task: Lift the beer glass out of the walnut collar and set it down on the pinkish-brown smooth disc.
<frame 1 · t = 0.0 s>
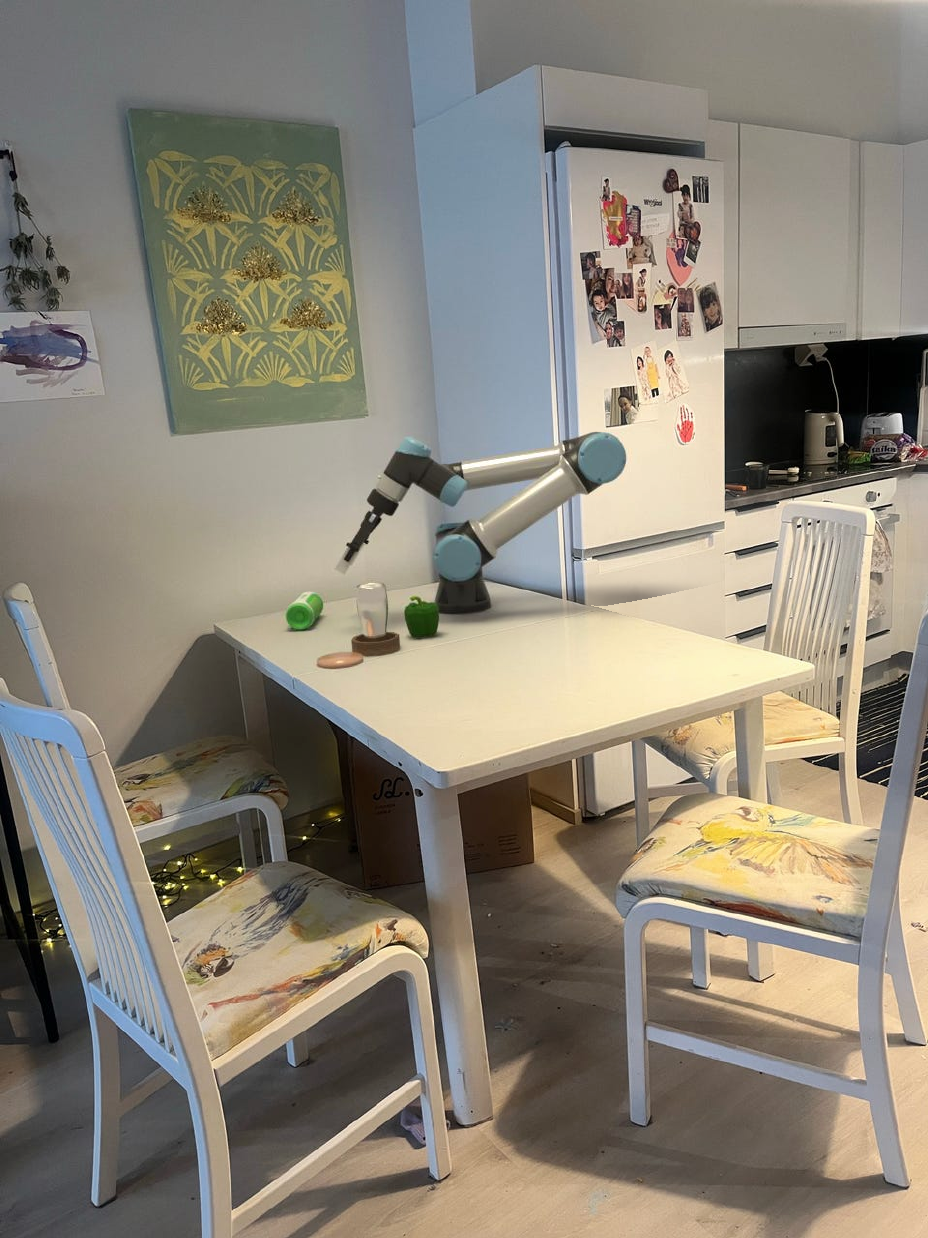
hand: (343, 567, 241), 15 cm above the table, tool tilted 35°, fingers open, 13 cm apart
speaker: (306, 625, 251), on the table
bell pepper: (423, 636, 228), on the table
pinkish-brown smooth disc: (340, 662, 209), on the table
walnut collar: (376, 650, 218), on the table
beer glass: (376, 650, 218), resting in walnut collar
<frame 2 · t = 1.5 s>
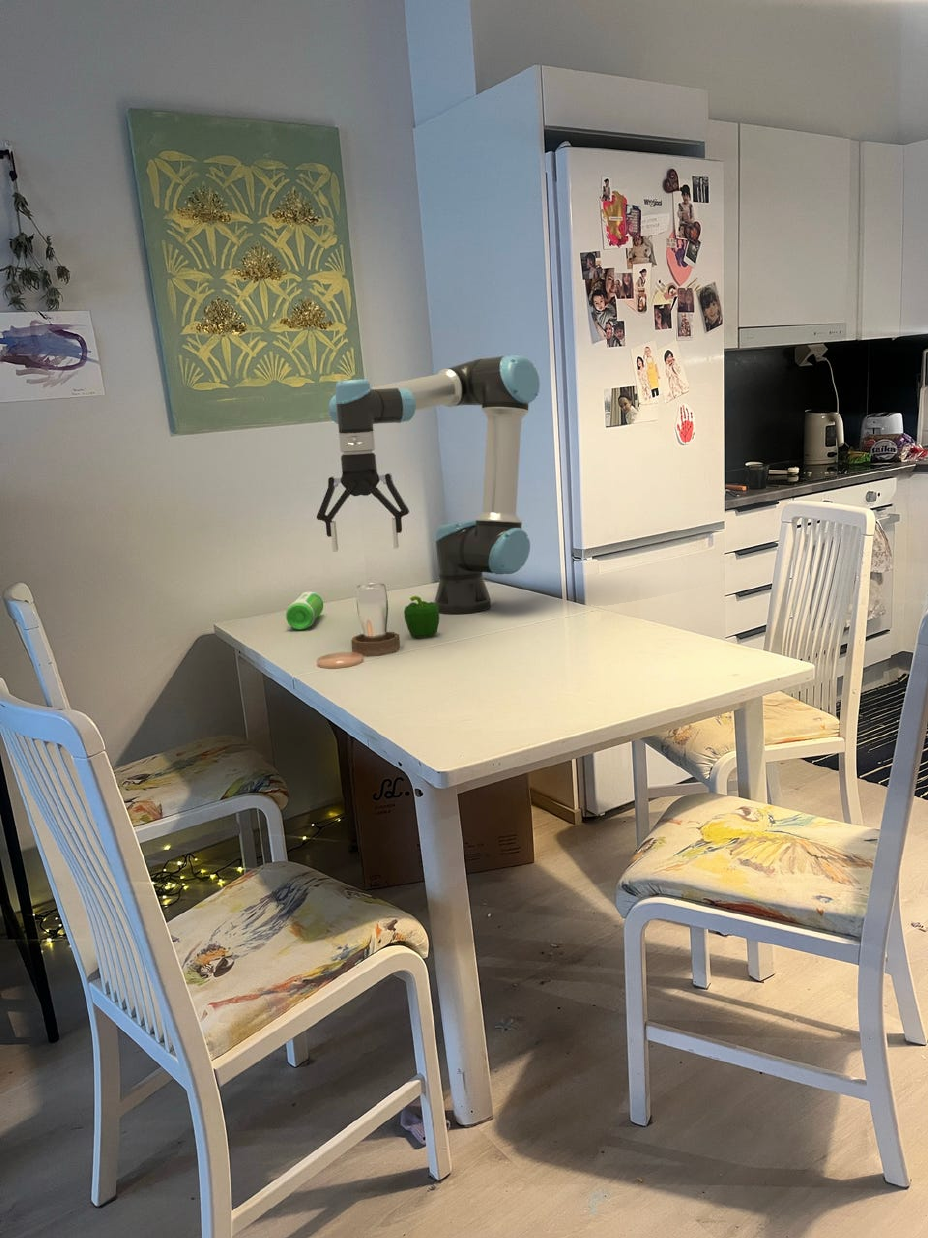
hand: (365, 549, 213), 23 cm above the table, tool pointing down, fingers open, 13 cm apart
nothing on the table moved.
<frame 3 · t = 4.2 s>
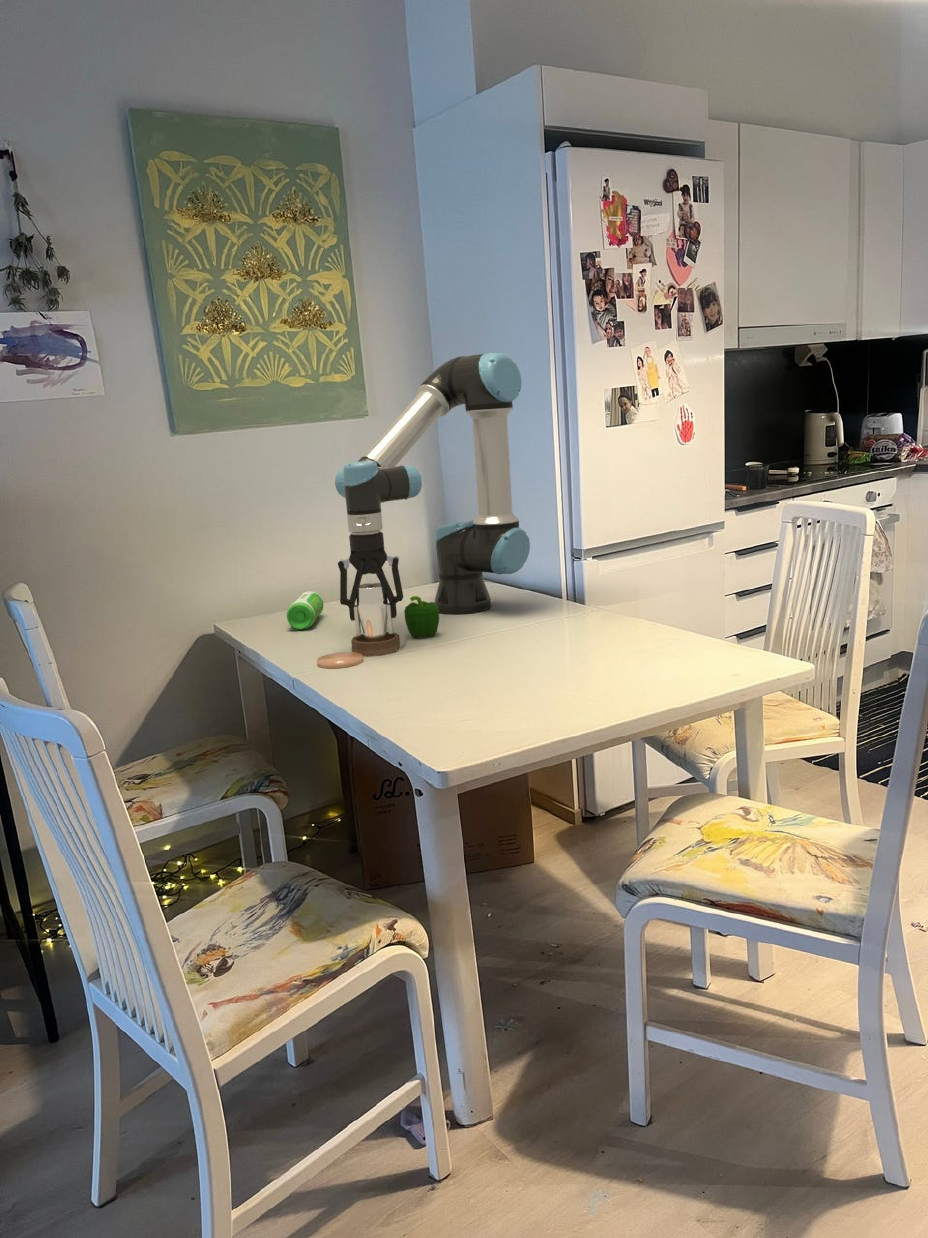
hand: (374, 632, 217), 4 cm above the table, tool pointing down, fingers closed on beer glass, 7 cm apart
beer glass: (376, 650, 218), resting in walnut collar, touching gripper
everything else where it was.
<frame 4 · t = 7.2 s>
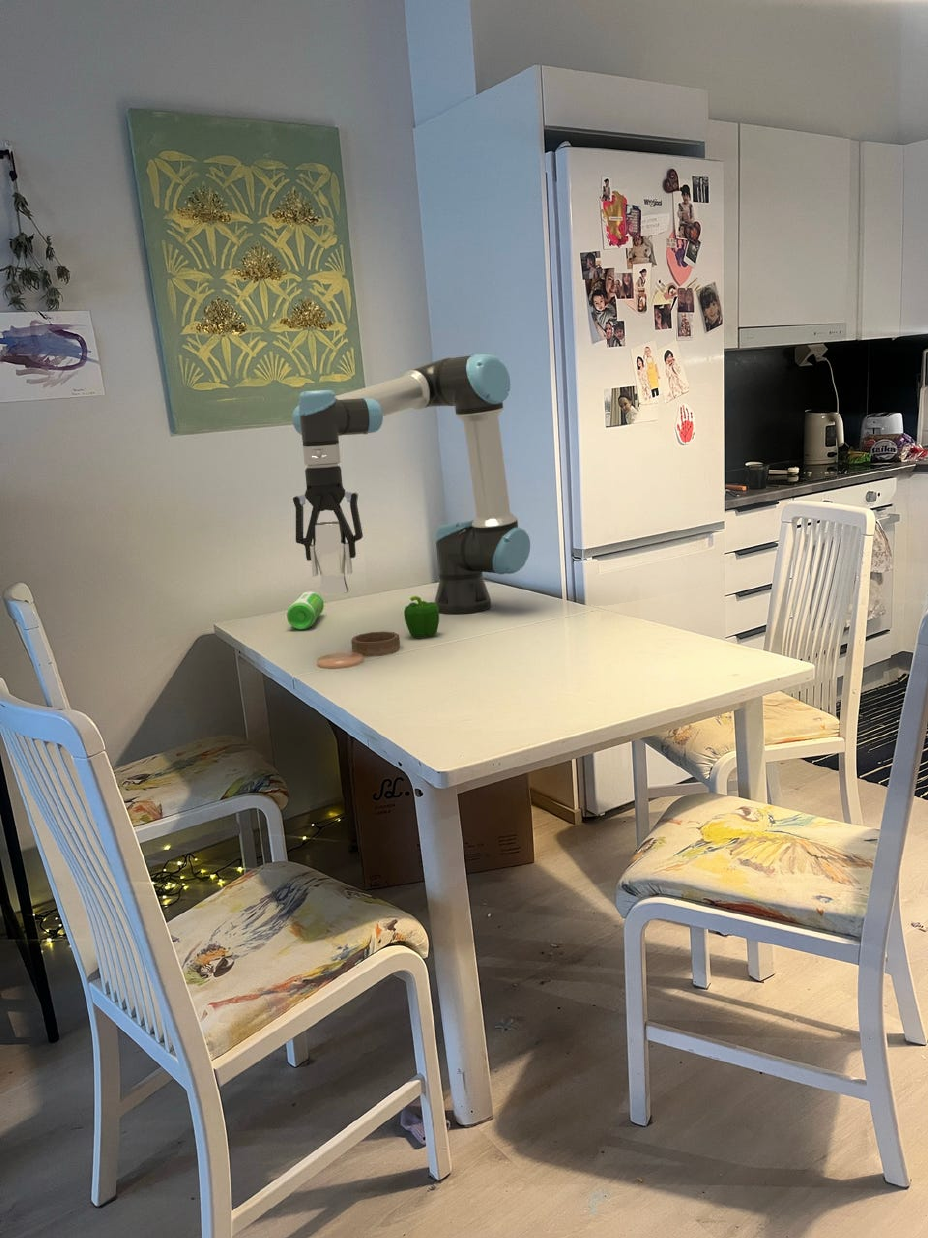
hand: (332, 574, 205), 20 cm above the table, tool pointing down, fingers closed on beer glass, 7 cm apart
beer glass: (334, 593, 206), point 15 cm above the table, touching gripper
everything else where it was.
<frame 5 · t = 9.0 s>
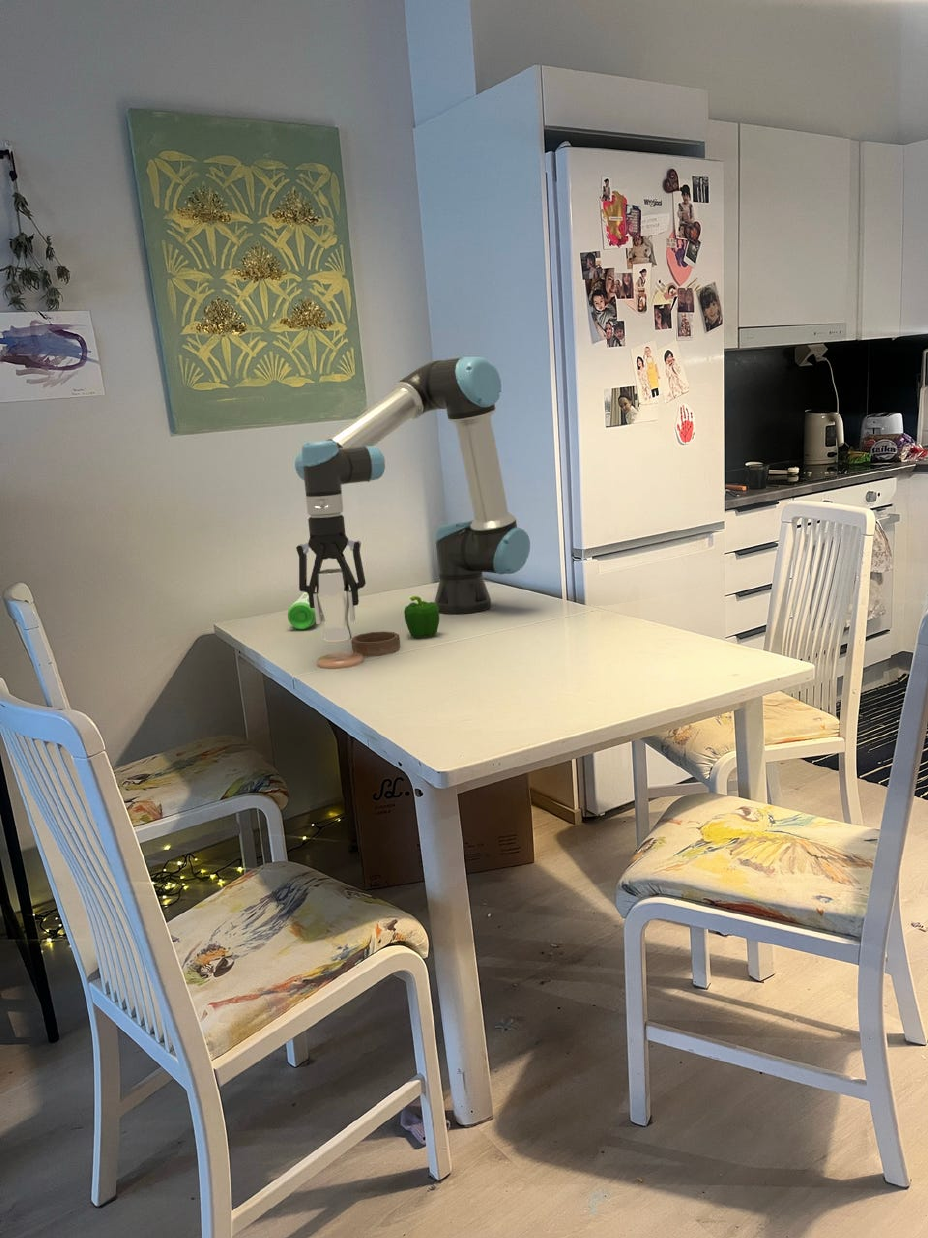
hand: (335, 621, 207), 9 cm above the table, tool pointing down, fingers closed on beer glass, 7 cm apart
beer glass: (337, 639, 208), point 5 cm above the table, touching gripper
everything else where it was.
when the fingers open (6 cm above the table, at t = 10.4 s): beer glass drops 1 cm, resting on pinkish-brown smooth disc.
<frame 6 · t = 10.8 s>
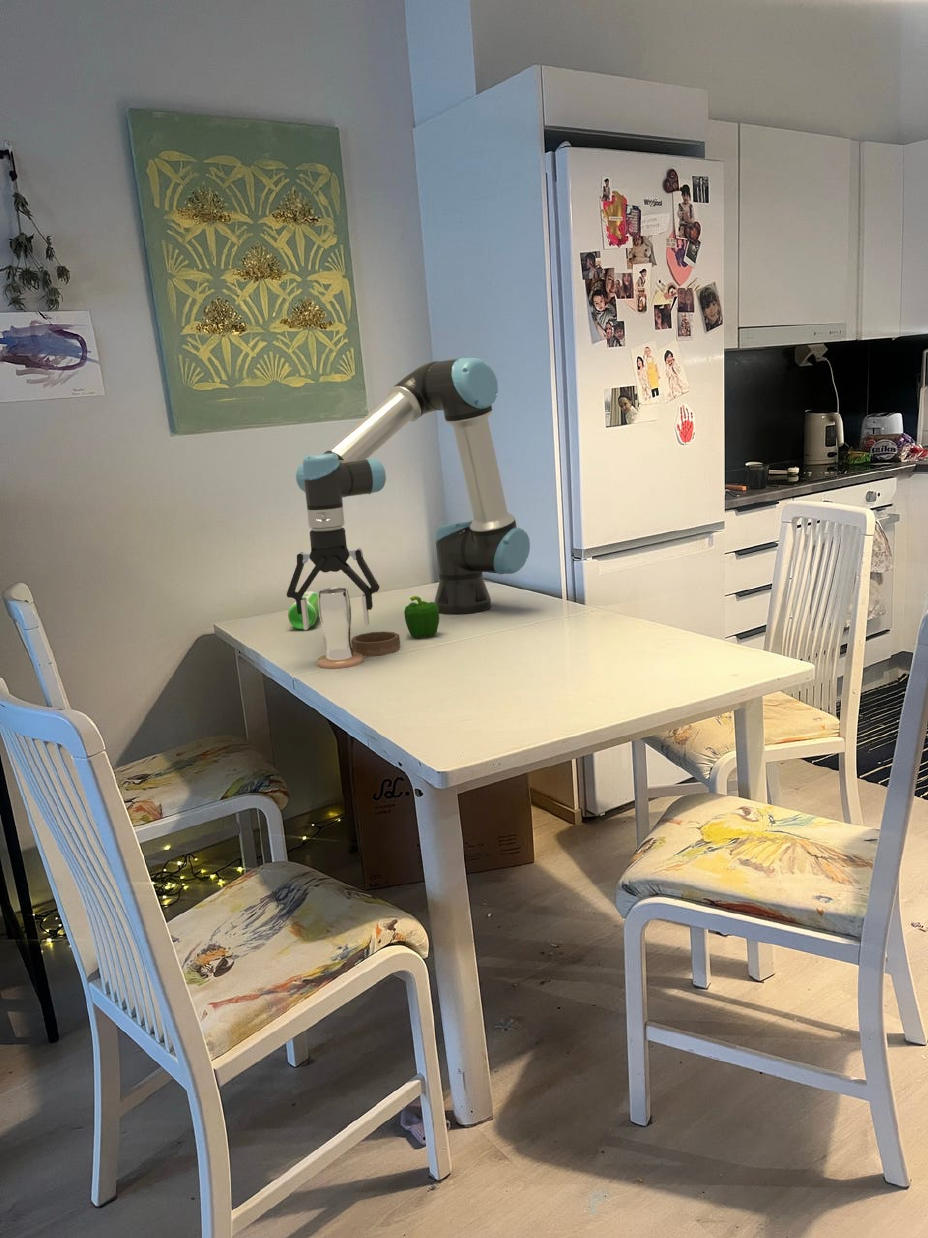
hand: (336, 626, 208), 8 cm above the table, tool pointing down, fingers open, 12 cm apart
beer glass: (340, 658, 209), point 1 cm above the table, touching pinkish-brown smooth disc
everything else where it was.
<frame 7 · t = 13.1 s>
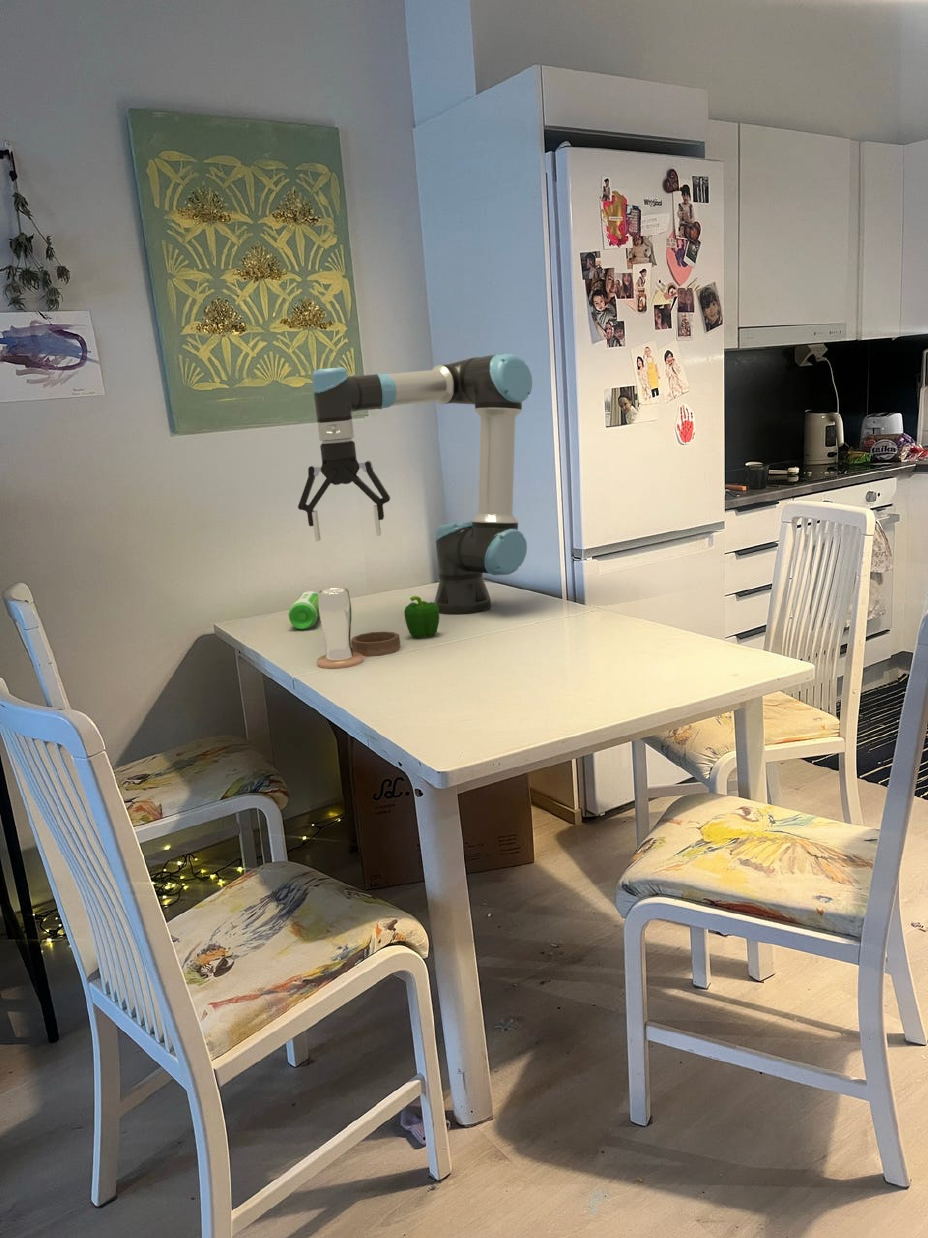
hand: (348, 537, 213), 26 cm above the table, tool pointing down, fingers open, 13 cm apart
nothing on the table moved.
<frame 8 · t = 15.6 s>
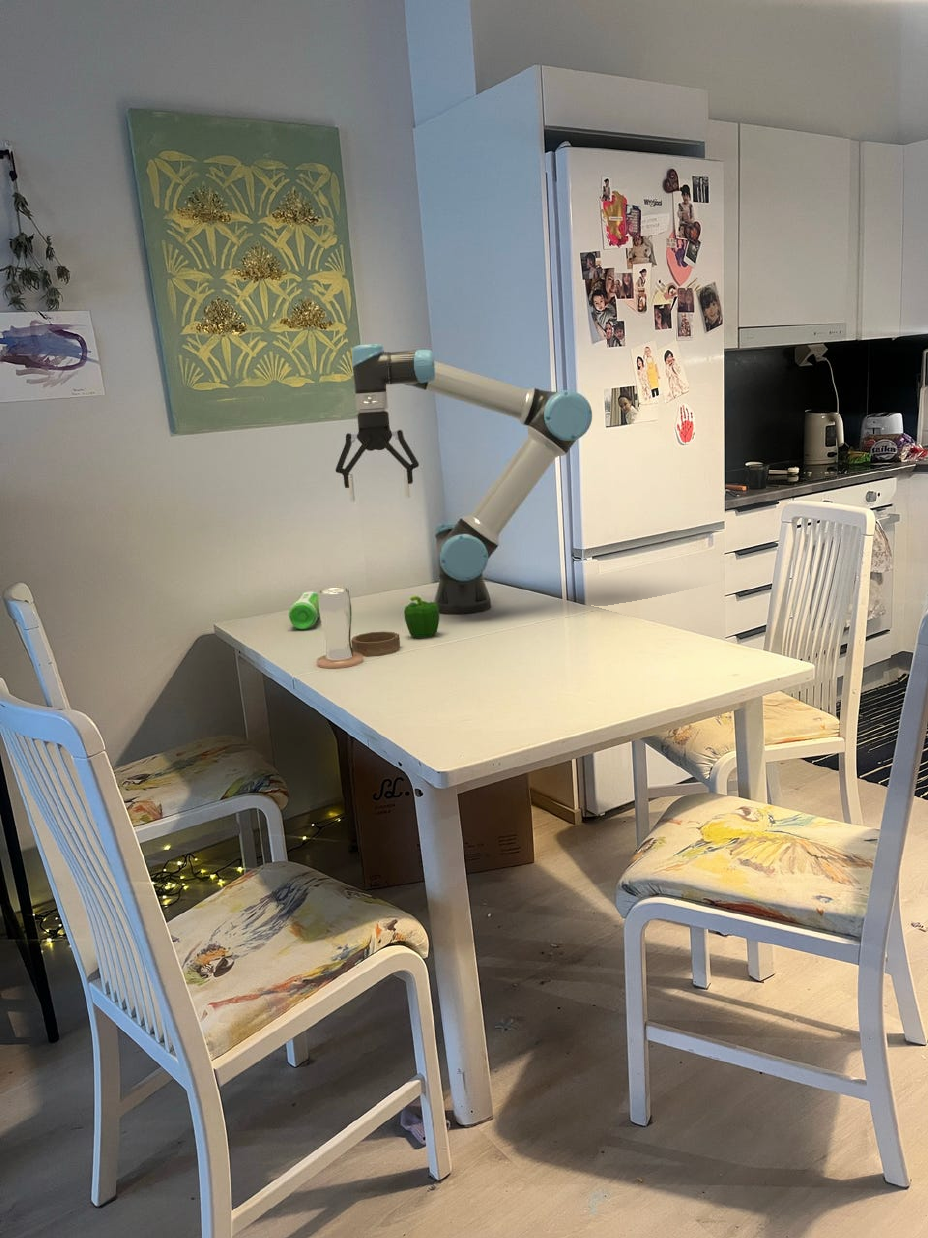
hand: (380, 499, 235), 32 cm above the table, tool pointing down, fingers open, 13 cm apart
nothing on the table moved.
at the end: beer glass 0.0 cm off-centre on the pinkish-brown smooth disc, point 0.8 cm above the pinkish-brown smooth disc's base; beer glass tilted 0°; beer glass touching pinkish-brown smooth disc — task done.
